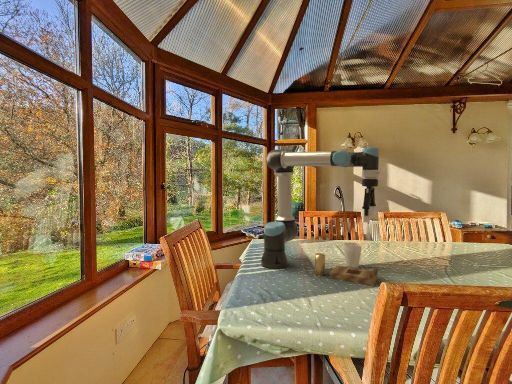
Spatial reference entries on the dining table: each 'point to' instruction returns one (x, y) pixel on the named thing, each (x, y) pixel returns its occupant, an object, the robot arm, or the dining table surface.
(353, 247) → the cup
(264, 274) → the dining table surface
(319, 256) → the golden brass cylinder
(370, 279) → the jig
